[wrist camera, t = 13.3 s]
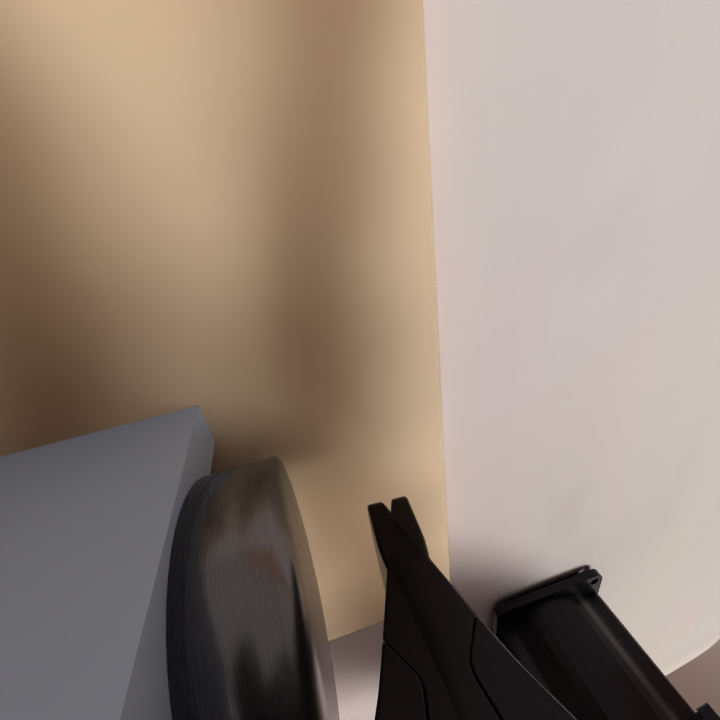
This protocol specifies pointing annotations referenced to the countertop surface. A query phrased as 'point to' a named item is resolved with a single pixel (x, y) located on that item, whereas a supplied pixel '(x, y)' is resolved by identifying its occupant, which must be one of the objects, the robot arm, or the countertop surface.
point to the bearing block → (230, 249)
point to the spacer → (93, 568)
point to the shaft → (246, 604)
